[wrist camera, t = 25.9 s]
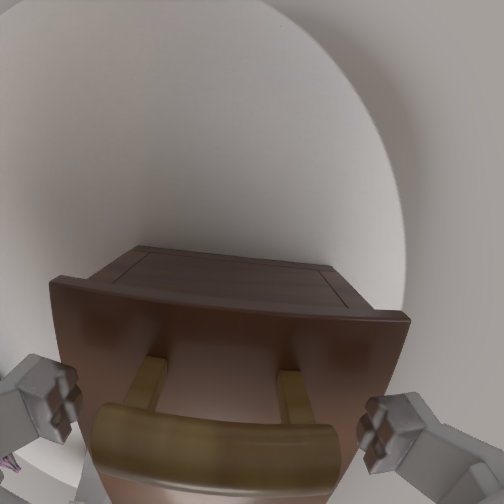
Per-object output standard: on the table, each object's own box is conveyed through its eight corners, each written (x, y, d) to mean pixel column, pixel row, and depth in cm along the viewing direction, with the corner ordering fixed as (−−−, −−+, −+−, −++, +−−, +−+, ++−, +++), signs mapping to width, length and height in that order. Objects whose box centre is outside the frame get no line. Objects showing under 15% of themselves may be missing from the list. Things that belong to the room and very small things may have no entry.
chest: (136, 245, 17) (61, 296, 9) (332, 265, 17) (395, 331, 9) (146, 424, 20) (120, 504, 12) (290, 438, 20) (304, 521, 12)
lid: (59, 273, 8) (-45, 340, 4) (401, 309, 9) (493, 395, 4) (119, 504, 12) (102, 564, 7) (304, 522, 12) (315, 583, 8)
